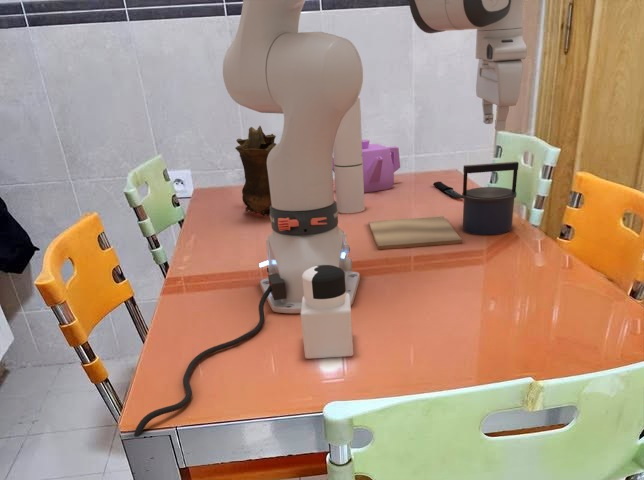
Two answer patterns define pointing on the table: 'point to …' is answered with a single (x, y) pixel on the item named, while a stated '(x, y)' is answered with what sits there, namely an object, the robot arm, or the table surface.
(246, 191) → the pottery vessel
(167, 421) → the table surface
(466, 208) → the pot
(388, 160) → the teakettle
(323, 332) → the medicine bottle
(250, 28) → the robot arm
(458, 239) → the cutting board
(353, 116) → the cylindrical container
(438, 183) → the knife
